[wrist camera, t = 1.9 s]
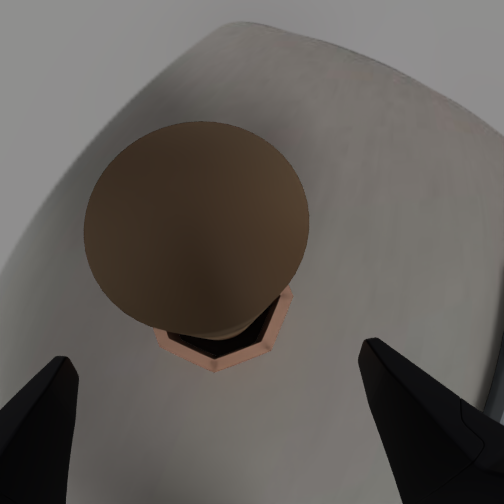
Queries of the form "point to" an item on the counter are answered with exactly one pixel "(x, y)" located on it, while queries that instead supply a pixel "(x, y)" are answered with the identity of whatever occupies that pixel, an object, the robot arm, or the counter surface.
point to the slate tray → (497, 391)
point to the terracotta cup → (237, 356)
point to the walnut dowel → (196, 229)
